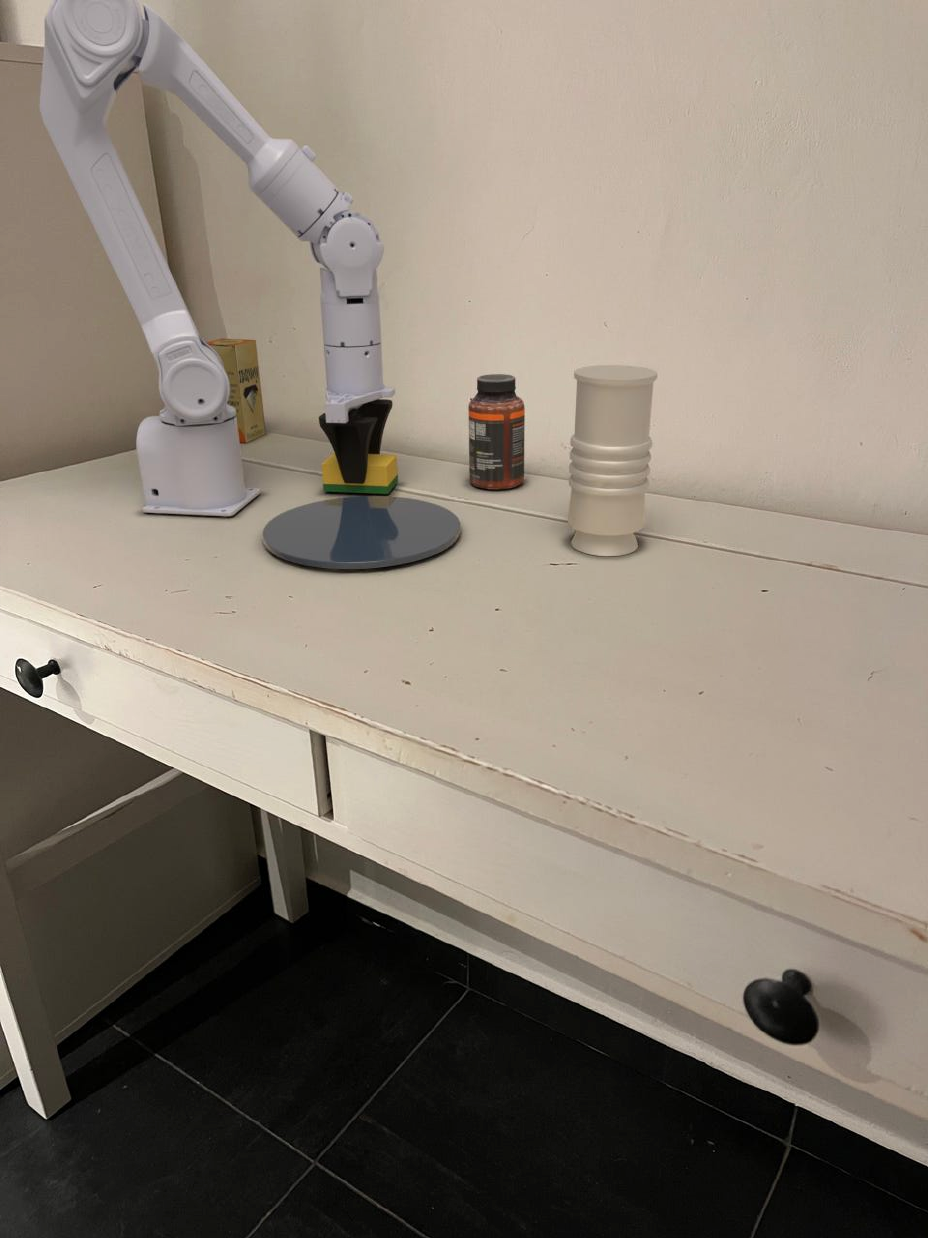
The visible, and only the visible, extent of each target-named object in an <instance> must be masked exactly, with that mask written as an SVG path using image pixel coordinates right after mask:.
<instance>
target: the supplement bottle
mask: <svg viewBox="0 0 928 1238" xmlns="http://www.w3.org/2000/svg"><path fill="white" fill-rule="evenodd" d="M516 388H517V386H516V377H515V376H514V375H511V374H503V373H494V374H493V373H491V374H490V373H489V374H484V375H479V376H478V377H476V390H477V393H476V394H475V396H474V397H473V398H471V399H470V401H469V403H468V407H467V408H468V409H467V410H468V412H467V413H468V470H469V471H468V474H469V482H470V483H471V484H472V485H473V486H474V487H476V488H480V489H485V490H491V491H493V490H495V491H498V490H508V489H513V488H516V487H518V486H520V485H522V484H523V482H524V479H525V427H526V426H525V420H526V419H525V418H526V417H525V416H526V415H525V412H526V410H525V409H526V408H525V403H524V400H523V399H522V398H521V397H520V396H518V395H517V393H516Z"/></svg>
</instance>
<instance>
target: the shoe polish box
mask: <svg viewBox="0 0 928 1238" xmlns="http://www.w3.org/2000/svg"><path fill="white" fill-rule="evenodd" d="M205 342H206V341H205ZM206 343H207V344H208V345H209V346H210V347H212V348H213V349H214V350H215V351H216V352H217V354H218V355H219V357H220V358H221V360H222V363H223V366H224V370H225V372H226V374H227V376H228V379H229V383H230V396H229V400H228V402H227V404H228V405H230V406H232V407H234V408H235V409H236V417H237V425H238V434H239V442H240V444H248V443H250V442H252V441H254V440H256V439H259V438H261V437H263V436H265V435H266V434H267V431H266V423H265V414H264V405H263V403H264V402H263V395H262V385H261V376H260V367H259V358H258V357H259V356H258V347H257V340H256V339H244V338H243V339H241V338H218V339H215V340H210V341H207V342H206Z"/></svg>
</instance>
